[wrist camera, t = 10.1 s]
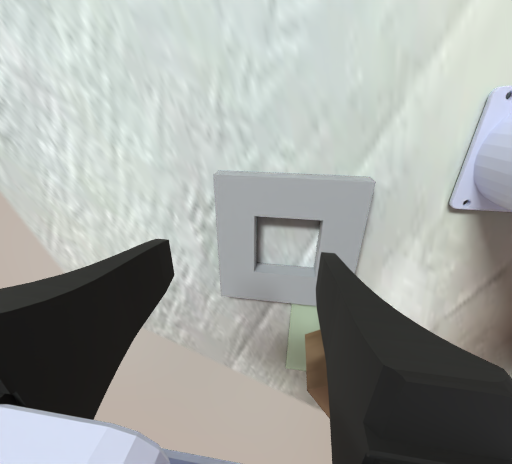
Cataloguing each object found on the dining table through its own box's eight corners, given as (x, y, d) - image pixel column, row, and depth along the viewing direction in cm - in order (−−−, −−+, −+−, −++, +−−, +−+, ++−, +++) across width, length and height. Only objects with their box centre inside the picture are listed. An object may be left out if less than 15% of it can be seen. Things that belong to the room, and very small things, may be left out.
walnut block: (344, 321, 25) (358, 378, 20) (363, 350, 26) (380, 410, 21) (304, 334, 27) (307, 390, 21) (324, 360, 28) (330, 419, 23)
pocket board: (370, 177, 19) (375, 181, 18) (343, 298, 24) (346, 309, 23) (218, 170, 20) (213, 174, 19) (225, 286, 26) (221, 295, 24)
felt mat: (395, 311, 24) (396, 314, 24) (372, 377, 29) (373, 380, 28) (291, 300, 25) (291, 303, 25) (285, 365, 30) (285, 368, 29)
